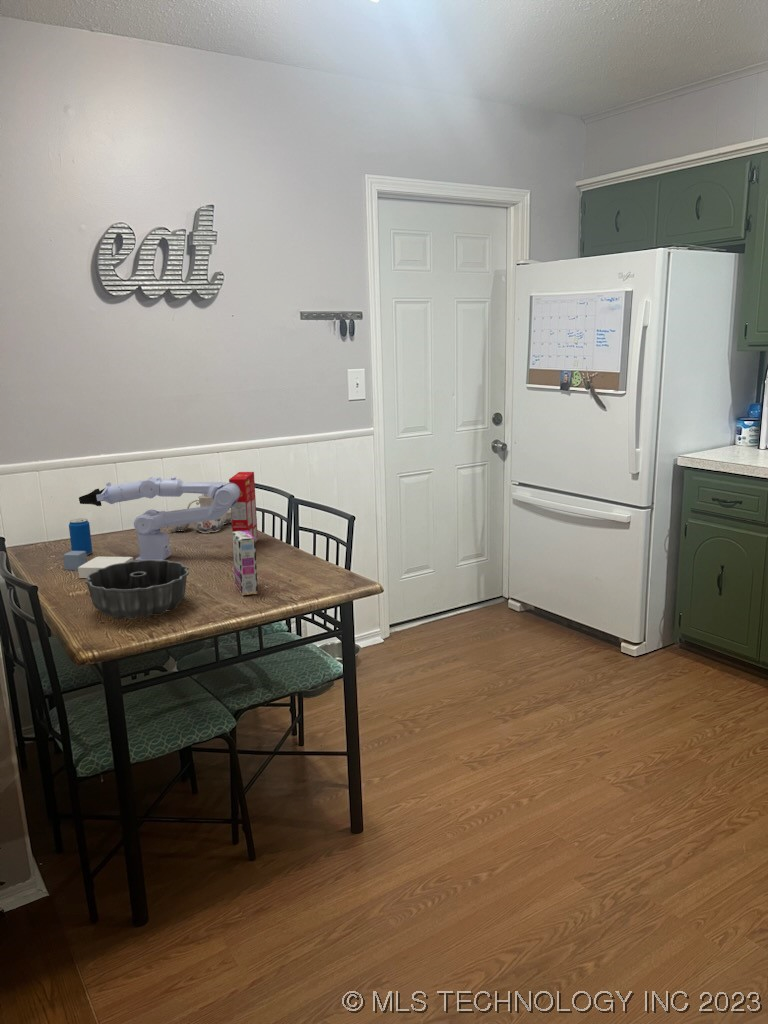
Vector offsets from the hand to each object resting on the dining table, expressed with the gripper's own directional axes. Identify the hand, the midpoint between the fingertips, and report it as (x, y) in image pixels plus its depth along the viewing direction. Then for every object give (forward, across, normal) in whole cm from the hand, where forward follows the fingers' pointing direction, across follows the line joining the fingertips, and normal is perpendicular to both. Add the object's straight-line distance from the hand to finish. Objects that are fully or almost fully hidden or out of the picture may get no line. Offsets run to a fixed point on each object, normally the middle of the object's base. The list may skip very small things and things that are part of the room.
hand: (85, 499), depth 247 cm
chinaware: (-24, -41, +22) cm, 53 cm away
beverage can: (+8, -7, +19) cm, 22 cm away
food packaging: (-45, -17, +27) cm, 55 cm away
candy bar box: (-56, +31, +32) cm, 71 cm away
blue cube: (+4, +9, +21) cm, 23 cm away
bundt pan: (-31, +46, +30) cm, 63 cm away
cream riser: (-9, +14, +24) cm, 29 cm away
